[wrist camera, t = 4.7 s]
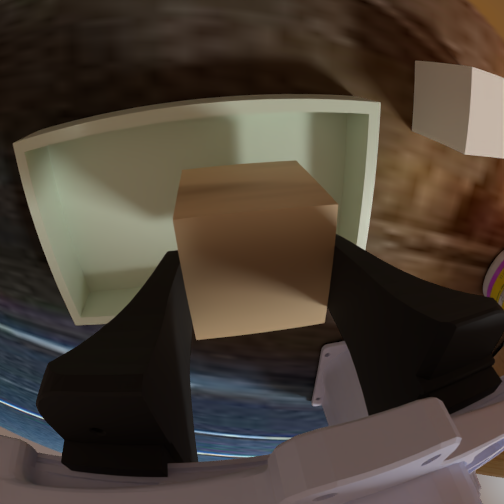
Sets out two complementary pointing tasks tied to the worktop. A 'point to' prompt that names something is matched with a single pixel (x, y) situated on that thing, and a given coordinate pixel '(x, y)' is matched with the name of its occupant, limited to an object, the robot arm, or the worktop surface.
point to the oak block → (254, 247)
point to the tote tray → (177, 179)
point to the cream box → (459, 108)
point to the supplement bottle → (495, 280)
